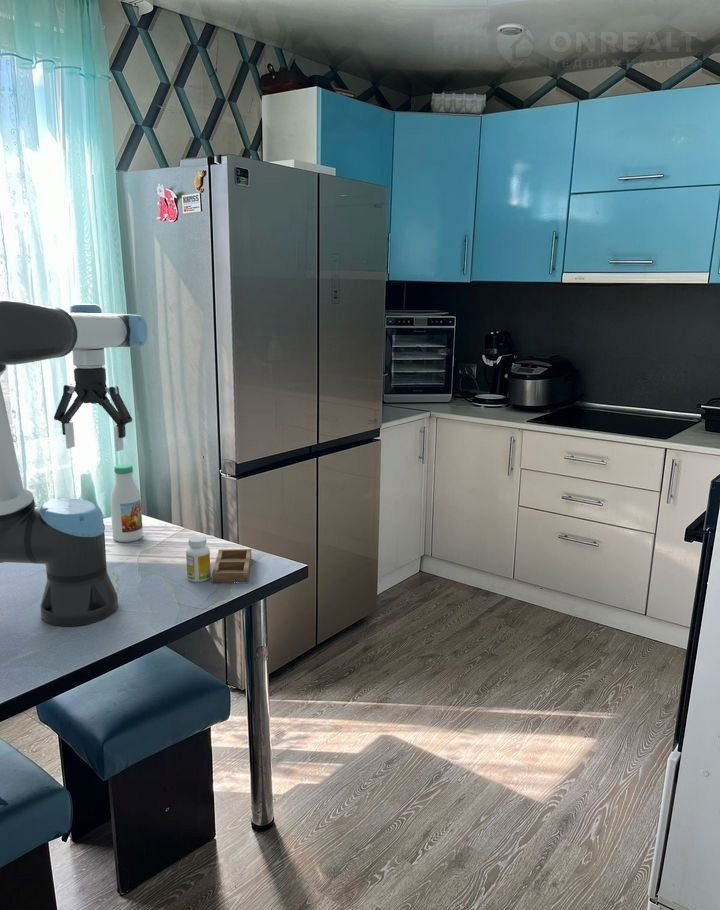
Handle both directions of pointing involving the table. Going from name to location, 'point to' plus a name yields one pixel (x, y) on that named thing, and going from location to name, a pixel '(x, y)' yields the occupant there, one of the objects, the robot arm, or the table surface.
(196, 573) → the supplement bottle
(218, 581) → the compartment tray
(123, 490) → the milk bottle
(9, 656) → the table surface
